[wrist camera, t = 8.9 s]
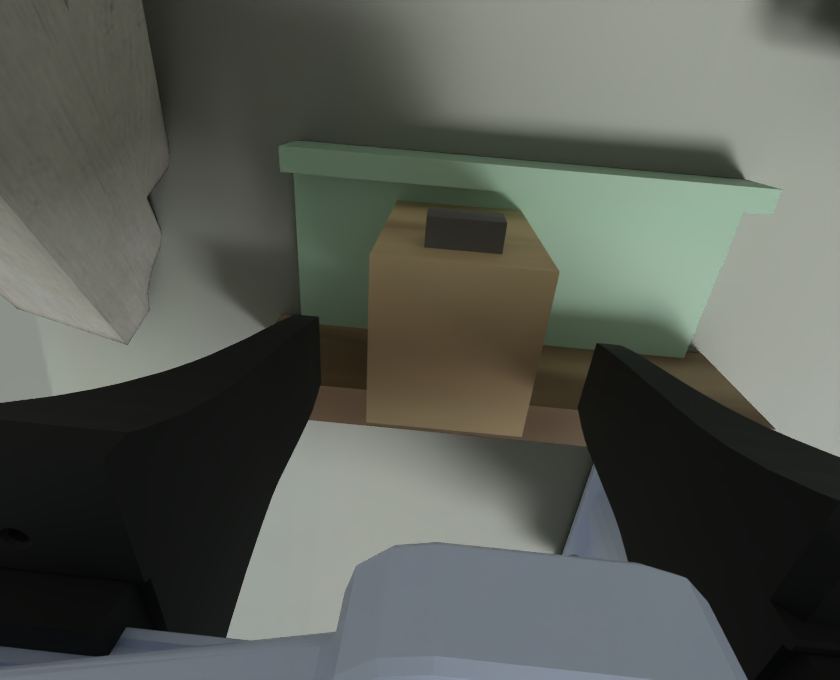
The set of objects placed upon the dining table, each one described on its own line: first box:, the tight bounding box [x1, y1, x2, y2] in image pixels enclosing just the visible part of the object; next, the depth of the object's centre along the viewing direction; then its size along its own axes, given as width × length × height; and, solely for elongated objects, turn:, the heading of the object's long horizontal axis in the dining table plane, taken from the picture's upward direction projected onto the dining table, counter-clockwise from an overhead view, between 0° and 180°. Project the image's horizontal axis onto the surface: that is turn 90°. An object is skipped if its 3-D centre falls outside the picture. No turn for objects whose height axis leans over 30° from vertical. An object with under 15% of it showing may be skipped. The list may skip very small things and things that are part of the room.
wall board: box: [276, 314, 775, 447], centre depth 18 cm, size 2×18×5 cm, turn 85°
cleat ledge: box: [278, 140, 783, 358], centre depth 17 cm, size 7×16×2 cm, turn 86°
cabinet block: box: [366, 200, 560, 437], centre depth 15 cm, size 6×4×6 cm
